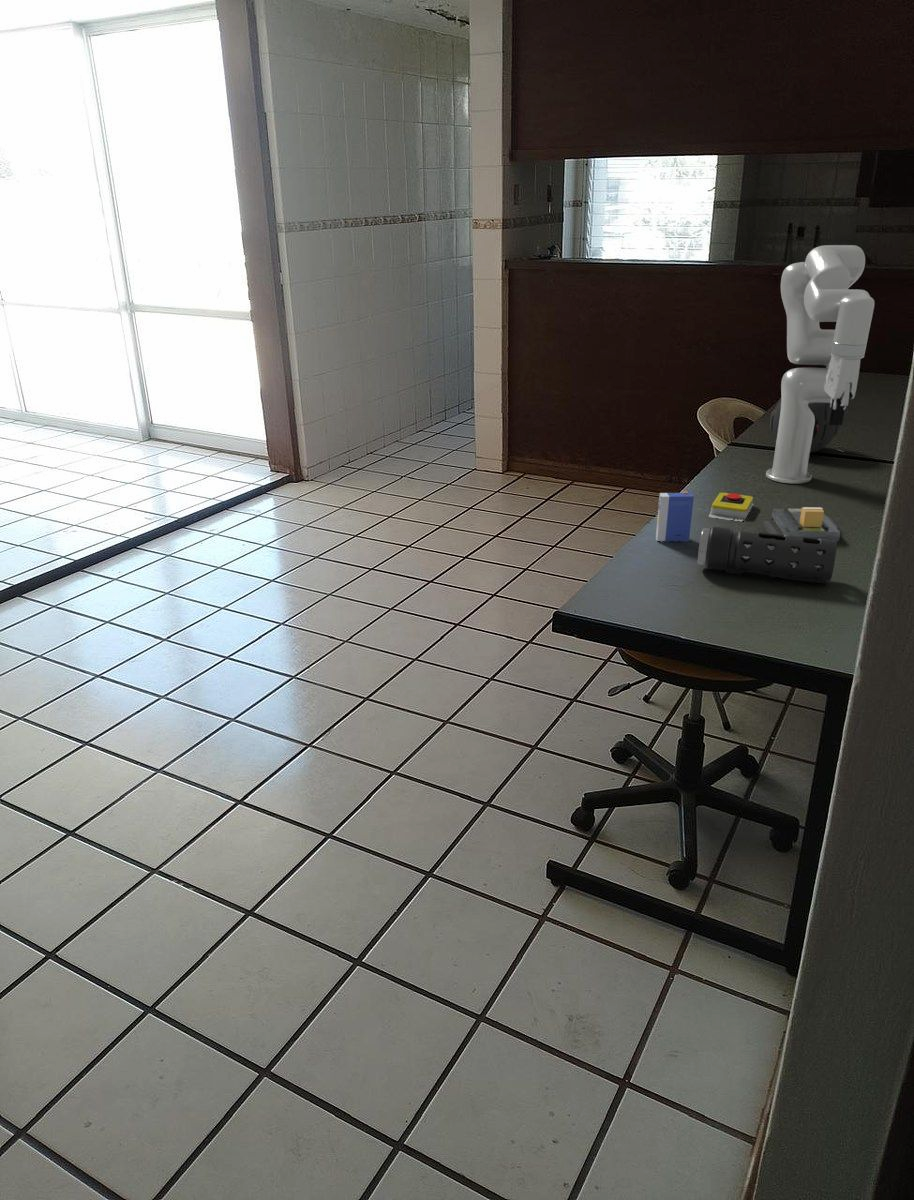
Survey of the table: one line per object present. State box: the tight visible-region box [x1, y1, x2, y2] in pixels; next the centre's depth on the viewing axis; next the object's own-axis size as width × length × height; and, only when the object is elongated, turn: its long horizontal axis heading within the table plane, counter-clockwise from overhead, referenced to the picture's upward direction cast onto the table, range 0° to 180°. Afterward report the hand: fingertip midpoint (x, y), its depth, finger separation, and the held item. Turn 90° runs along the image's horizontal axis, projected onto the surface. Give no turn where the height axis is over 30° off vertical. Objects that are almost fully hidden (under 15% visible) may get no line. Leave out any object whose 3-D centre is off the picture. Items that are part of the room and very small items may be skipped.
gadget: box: [769, 398, 840, 453], centre depth 283 cm, size 21×20×20 cm
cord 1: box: [762, 520, 779, 534], centre depth 222 cm, size 14×1×1 cm, turn 177°
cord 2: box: [826, 515, 840, 530], centre depth 227 cm, size 8×1×1 cm, turn 177°
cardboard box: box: [800, 506, 825, 527], centre depth 220 cm, size 3×4×4 cm
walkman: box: [655, 491, 694, 543], centre depth 218 cm, size 8×3×12 cm, turn 89°
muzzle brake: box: [697, 525, 837, 585], centre depth 199 cm, size 10×28×10 cm, turn 71°
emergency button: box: [708, 492, 754, 523], centre depth 238 cm, size 9×4×15 cm
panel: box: [771, 508, 841, 543], centre depth 225 cm, size 16×12×3 cm
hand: (834, 424), depth 224 cm, fingers closed
